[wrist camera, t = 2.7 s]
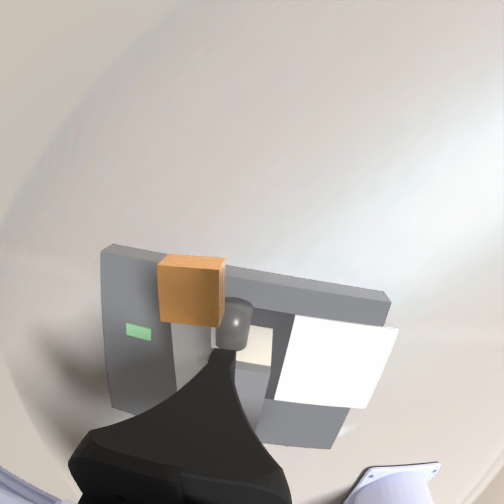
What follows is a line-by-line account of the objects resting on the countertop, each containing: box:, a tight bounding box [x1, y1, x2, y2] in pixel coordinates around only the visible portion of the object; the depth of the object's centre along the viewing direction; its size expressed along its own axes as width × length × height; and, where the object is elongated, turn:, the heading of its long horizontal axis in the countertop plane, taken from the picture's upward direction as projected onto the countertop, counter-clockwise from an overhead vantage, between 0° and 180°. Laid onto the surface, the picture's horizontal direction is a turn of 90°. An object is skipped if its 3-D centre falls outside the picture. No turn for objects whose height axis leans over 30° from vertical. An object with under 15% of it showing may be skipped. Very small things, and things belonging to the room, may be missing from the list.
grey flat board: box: [101, 244, 399, 449], centre depth 18 cm, size 12×17×2 cm
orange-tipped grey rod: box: [157, 254, 225, 391], centre depth 14 cm, size 14×2×5 cm, turn 177°
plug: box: [176, 297, 273, 432], centre depth 15 cm, size 6×4×4 cm, turn 171°
